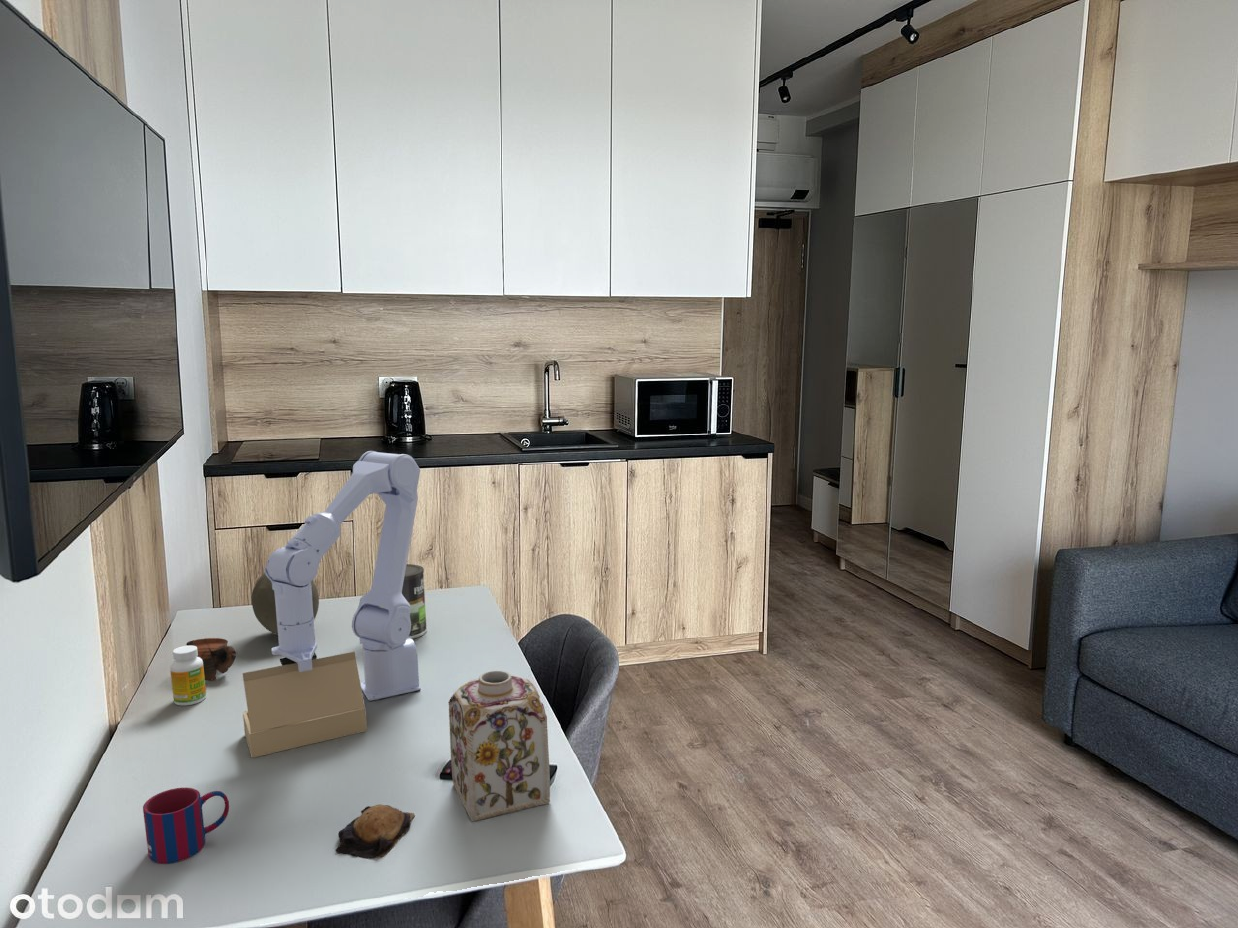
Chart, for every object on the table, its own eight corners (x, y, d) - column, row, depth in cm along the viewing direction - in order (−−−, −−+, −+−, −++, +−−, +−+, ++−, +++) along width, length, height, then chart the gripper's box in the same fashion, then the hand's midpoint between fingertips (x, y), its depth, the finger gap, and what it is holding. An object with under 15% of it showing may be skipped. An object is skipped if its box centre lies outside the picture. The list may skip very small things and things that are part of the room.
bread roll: (365, 812, 126) (363, 788, 125) (421, 818, 124) (419, 794, 124) (325, 857, 116) (323, 831, 115) (385, 864, 114) (384, 837, 113)
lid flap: (354, 652, 152) (354, 651, 151) (364, 707, 149) (364, 707, 148) (242, 673, 143) (242, 672, 143) (250, 733, 140) (251, 732, 140)
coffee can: (431, 624, 200) (428, 563, 198) (421, 640, 190) (417, 577, 187) (386, 624, 200) (382, 563, 198) (372, 641, 190) (368, 577, 188)
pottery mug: (169, 685, 170) (170, 642, 173) (205, 688, 179) (207, 647, 182) (220, 675, 167) (221, 631, 170) (255, 678, 176) (256, 637, 178)
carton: (354, 710, 157) (353, 688, 156) (367, 730, 149) (365, 708, 149) (244, 734, 149) (242, 712, 148) (251, 757, 141) (249, 734, 140)
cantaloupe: (334, 625, 200) (329, 560, 198) (298, 648, 187) (293, 579, 184) (278, 621, 203) (273, 557, 201) (239, 644, 190) (233, 575, 187)
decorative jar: (451, 783, 132) (445, 668, 129) (526, 766, 137) (522, 655, 134) (471, 824, 121) (464, 700, 118) (552, 805, 126) (548, 684, 123)
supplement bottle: (193, 707, 159) (188, 655, 158) (167, 705, 160) (161, 653, 159) (212, 694, 165) (207, 644, 163) (187, 692, 166) (181, 642, 164)
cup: (148, 842, 119) (143, 795, 117) (230, 821, 123) (225, 776, 122) (148, 869, 113) (142, 820, 112) (234, 847, 117) (229, 799, 116)
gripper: (263, 611, 152) (269, 686, 154) (276, 637, 139) (282, 719, 141) (306, 604, 155) (312, 678, 157) (323, 629, 142) (328, 709, 145)
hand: (301, 697), depth 149 cm, fingers closed
